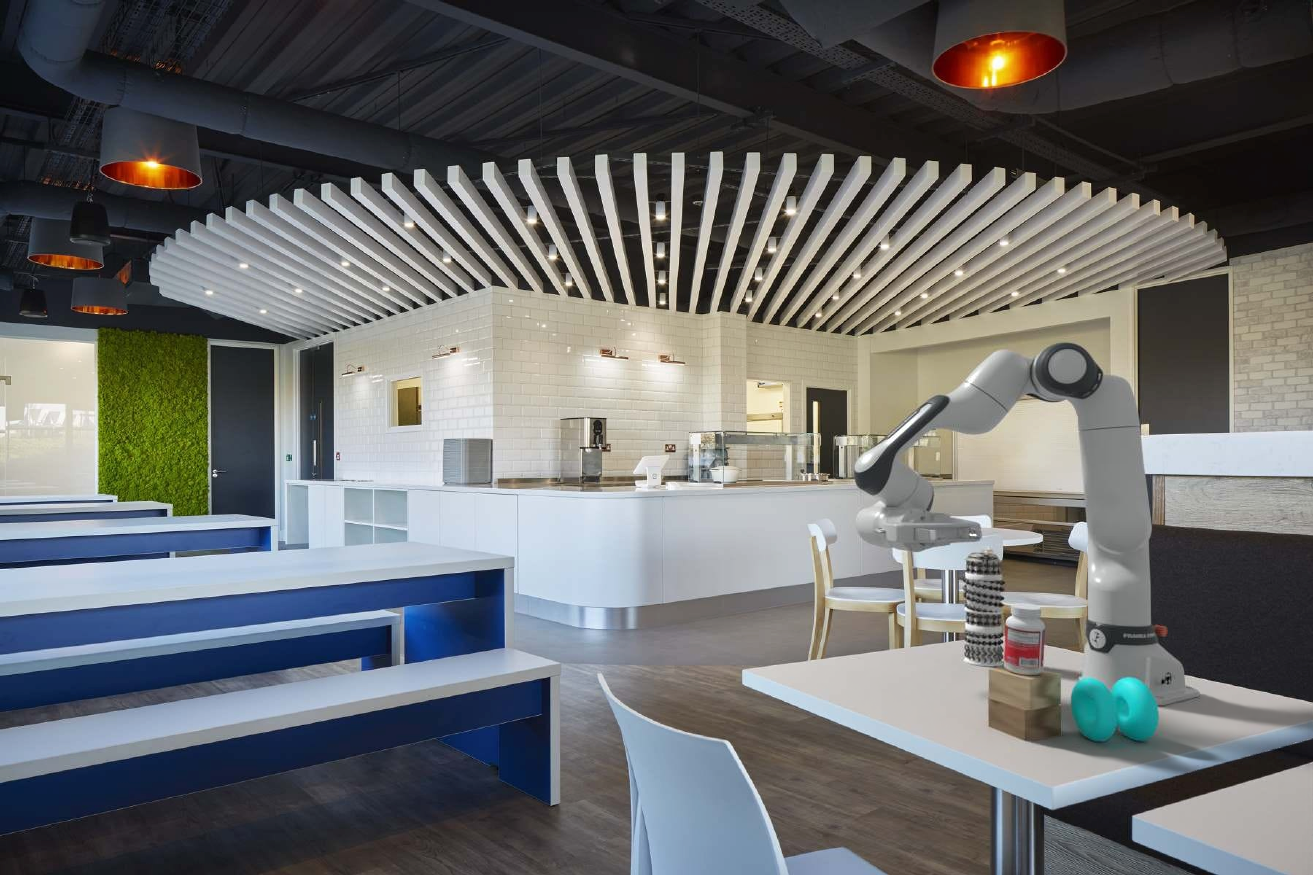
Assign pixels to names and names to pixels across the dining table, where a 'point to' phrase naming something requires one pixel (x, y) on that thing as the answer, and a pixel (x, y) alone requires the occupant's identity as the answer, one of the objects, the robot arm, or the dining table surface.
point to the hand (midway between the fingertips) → (958, 535)
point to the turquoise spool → (1114, 709)
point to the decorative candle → (983, 610)
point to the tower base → (1024, 720)
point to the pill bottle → (1024, 640)
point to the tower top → (1025, 688)
